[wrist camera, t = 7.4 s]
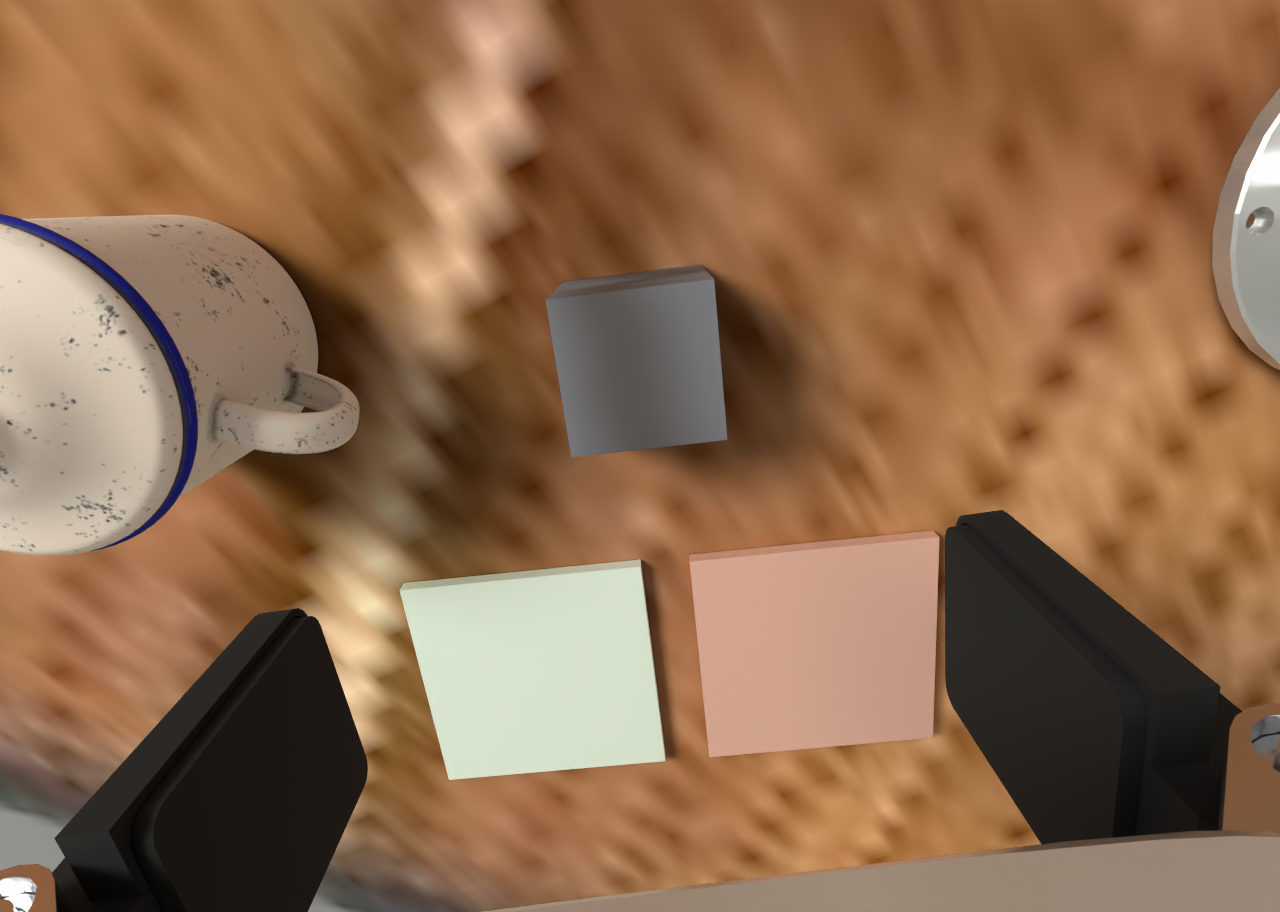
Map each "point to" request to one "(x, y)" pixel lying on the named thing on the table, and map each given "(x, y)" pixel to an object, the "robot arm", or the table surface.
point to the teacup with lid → (144, 372)
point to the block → (638, 360)
